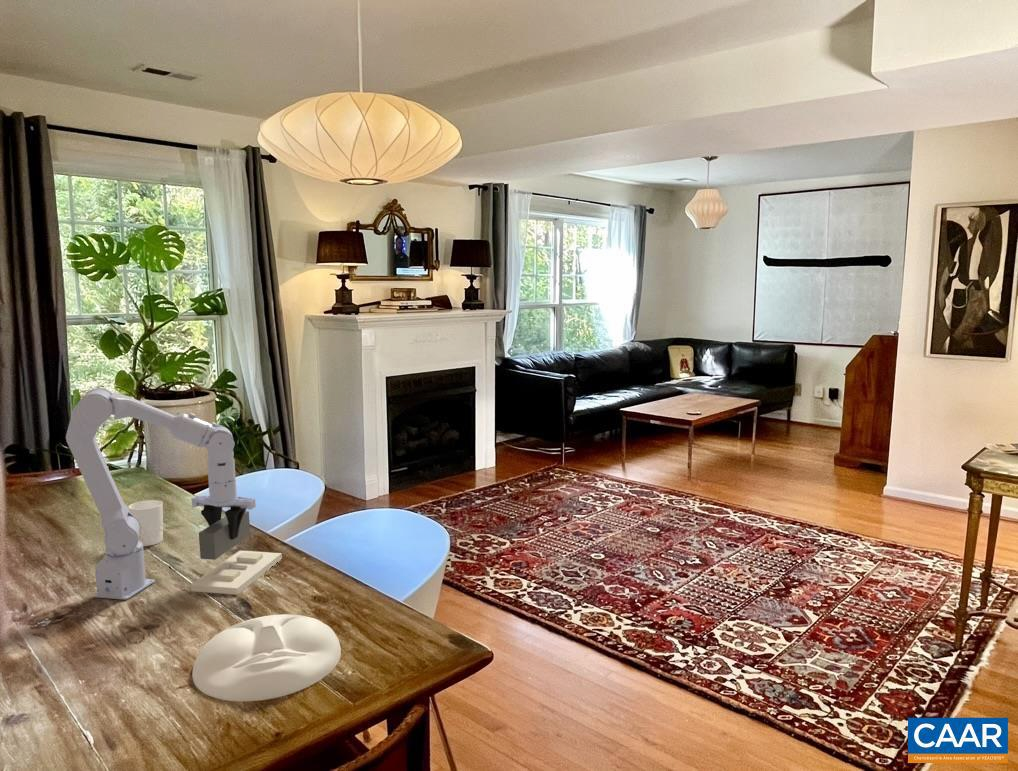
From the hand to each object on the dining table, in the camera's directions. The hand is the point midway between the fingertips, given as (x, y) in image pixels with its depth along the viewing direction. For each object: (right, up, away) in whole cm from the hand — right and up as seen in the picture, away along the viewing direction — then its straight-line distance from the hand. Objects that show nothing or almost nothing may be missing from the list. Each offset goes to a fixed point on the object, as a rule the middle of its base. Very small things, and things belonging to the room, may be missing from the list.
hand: (225, 537), depth 161 cm
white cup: (-28, -6, +20) cm, 35 cm away
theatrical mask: (+22, -15, -36) cm, 45 cm away
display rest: (+3, -9, 0) cm, 9 cm away
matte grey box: (0, -2, 0) cm, 2 cm away
